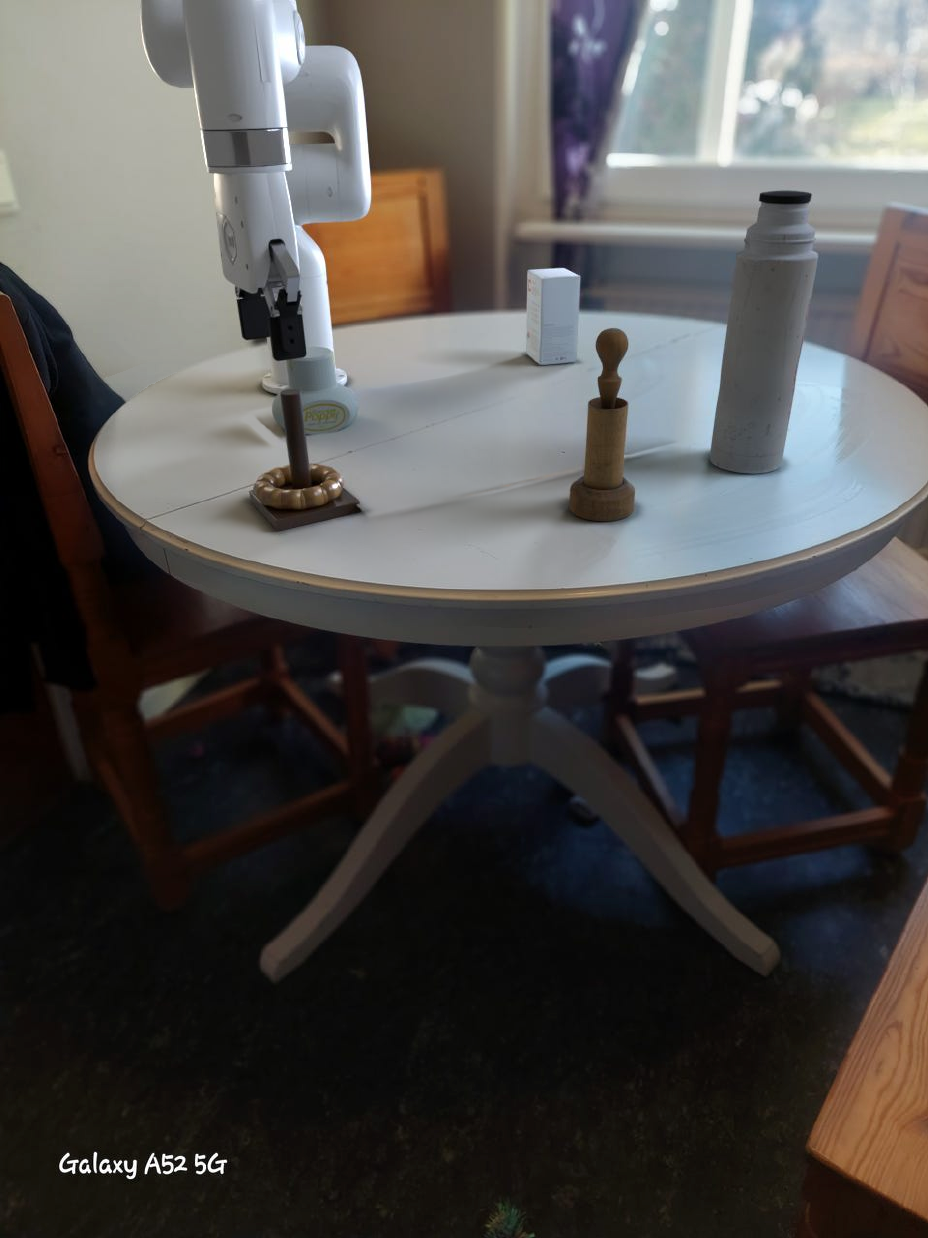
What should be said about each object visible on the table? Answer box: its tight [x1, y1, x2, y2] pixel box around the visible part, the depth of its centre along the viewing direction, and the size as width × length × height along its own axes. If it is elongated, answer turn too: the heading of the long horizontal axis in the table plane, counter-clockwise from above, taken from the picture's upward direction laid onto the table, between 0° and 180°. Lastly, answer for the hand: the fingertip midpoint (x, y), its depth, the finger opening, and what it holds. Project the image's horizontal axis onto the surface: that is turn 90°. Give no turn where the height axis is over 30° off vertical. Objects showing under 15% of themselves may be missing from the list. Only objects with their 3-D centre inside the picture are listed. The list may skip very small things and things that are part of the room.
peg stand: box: [248, 389, 361, 532], centre depth 89 cm, size 9×9×12 cm
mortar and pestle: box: [568, 327, 636, 522], centre depth 85 cm, size 7×6×18 cm
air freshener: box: [271, 347, 360, 436], centre depth 110 cm, size 11×8×10 cm
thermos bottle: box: [709, 189, 819, 475], centre depth 93 cm, size 8×8×28 cm
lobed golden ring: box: [252, 463, 345, 510], centre depth 91 cm, size 9×9×2 cm
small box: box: [525, 267, 581, 366], centre depth 137 cm, size 8×6×13 cm
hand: (273, 347), depth 86 cm, fingers open, 9 cm apart
